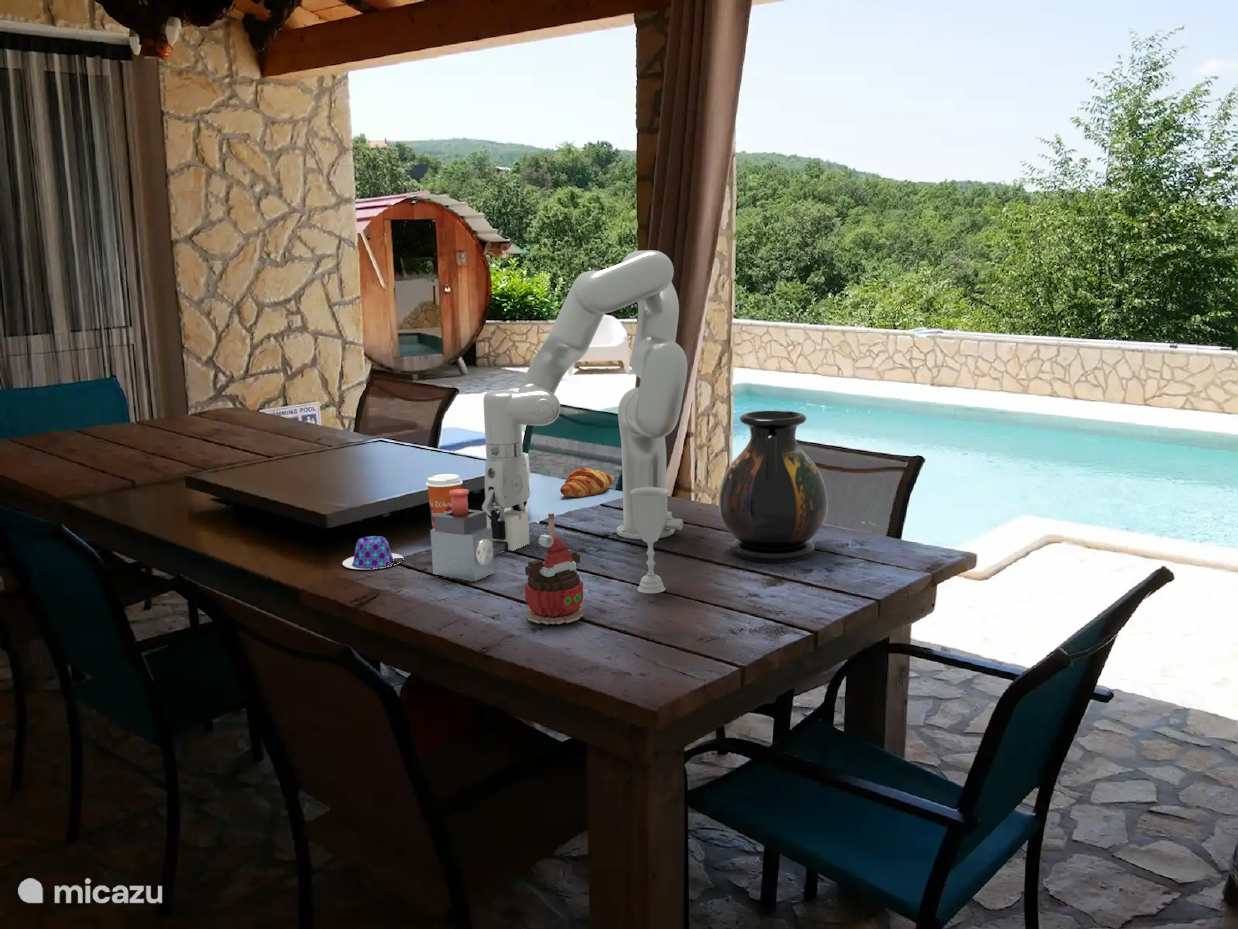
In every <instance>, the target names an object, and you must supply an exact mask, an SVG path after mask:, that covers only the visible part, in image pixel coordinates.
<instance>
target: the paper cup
mask: <svg viewBox="0 0 1238 929" xmlns="http://www.w3.org/2000/svg"><path fill="white" fill-rule="evenodd" d="M426 480H427V481H426V483H425V485H426V486H427V493H428V501H429V509H430V517H431V518H430V519H431V526H432V529H435V524H434V516H435V515H438V514H441V513H444V512H447V511H450V510H452V500H451V495H450V493H449V491H451V490H454V489H462V484H463V483H464V482H463V480H462V479H461V478H460V475H459V474H455V473H454V474H452V473H443V474H435V475H432V476H429V477H427V479H426Z"/></svg>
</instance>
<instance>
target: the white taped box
mask: <svg viewBox="0 0 1238 929" xmlns="http://www.w3.org/2000/svg"><path fill="white" fill-rule="evenodd" d="M495 511H496V510H495ZM496 512H497V513H498V512H499V510H497V511H496ZM502 521H505V536H506V539H505V540H498V539H492V540H493V542H495V541H503V542H508V550H507V551H509V550H510V552H511V551H512V552H514V551H516V549H517V550H518V548H519V549H521V548H523V546H524V547H526V546H528V545H531V544H530V543H531V542H530V543H529V539H530V524H529V511H528V512H525V511H516V510H507V509H505V510H504V515H503V520H502ZM487 527H488V528H491V521H490V520H489V517H488V516H487ZM527 544H528V545H527ZM525 545H526V546H525Z"/></svg>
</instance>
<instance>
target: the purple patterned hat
mask: <svg viewBox="0 0 1238 929" xmlns="http://www.w3.org/2000/svg"><path fill="white" fill-rule="evenodd" d="M355 544H356V545H355V549H354V556H350V557H348V558H346V559H345V560H343V561H342V563H341V564H342V565H343V567H345V568H347V569H353V570H364V571H365V570H366V571H367V569H370V568H373V569H372V570H378V567H379V568H380V569H385V568H389V567H392V565H391V564H390V562H392V561H394V560H393V559H394V558H403V559H404V557H403V556H402V555H401V554H398V553H394V552H393V553H392V551H391V548H390V546H389V542H388V540H387V539H386V537H384V536H380V535H379V536H377V535H373V536H364V537H361V538H359V539H358V540H357V542H356V543H355ZM400 563H401V562H399V563H397V564H394V565H393V566H395V565H398V564H400ZM389 564H390V565H391V566H389ZM384 565H388V566H387V567H386V566H385V567H380V566H384Z"/></svg>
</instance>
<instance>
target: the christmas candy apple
mask: <svg viewBox="0 0 1238 929" xmlns="http://www.w3.org/2000/svg"><path fill="white" fill-rule="evenodd" d="M547 515H548V516H547V517H548V534H540V535H539V536H540V537H539V538H538V545H540V546H542V547H543V548H544V547H545V548H546V554H545V558H543V559H544V560H541V559H533V560H531V561H528V562H527V566H525V567H524V571H525V572H524V573H525V576H527V582H526V584H525V586H524V596H525V602H526V604H527V605H528V609H527V611H526V615H525V616H526V618H527V620H528V621H530V622H534V623H536V624H541V623H543V624H545V625H550V624H551V625H556V624H557V625H561V624H564V623H566V624H568V623H573V622H575V621H579V620H580V619H581V617H584V612H585V611H584V610H585V609H584V608H582V605H581V604H582V603H583V599H584V585H583V584H584V582H583V581H581V578H580V574H578V572H577V571H576V570H577V568H578V564H580V563H581V555H580V554H579V553H578V552H577V551H574V550H569V546H567V545H565V543H564V542H563V541H562V540H561V539H560V538H559V537H557V536H556V534H555V533H556V532H555V529H556V527H555V513H552V512H550V513H548V514H547Z"/></svg>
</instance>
